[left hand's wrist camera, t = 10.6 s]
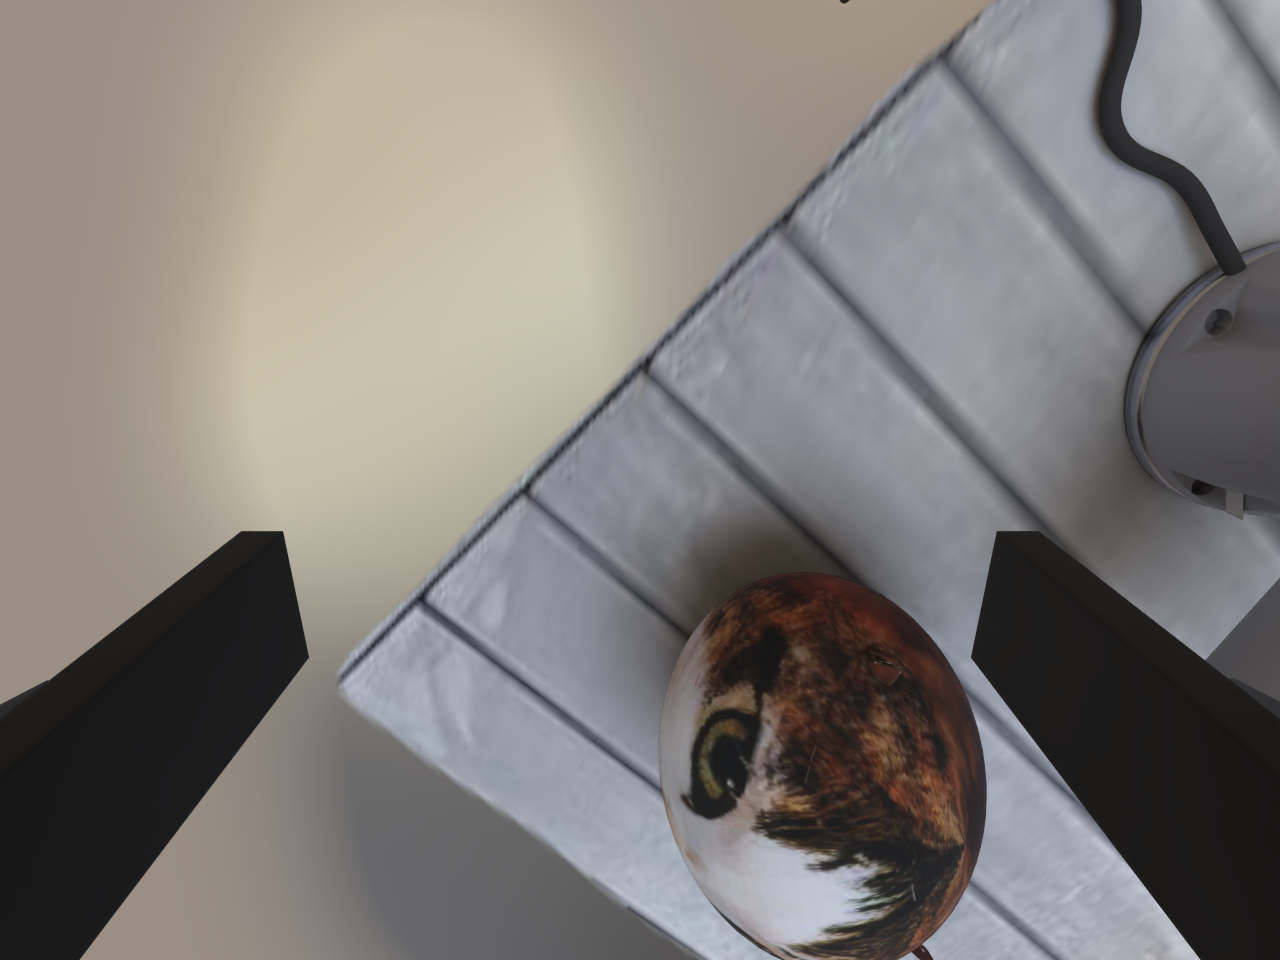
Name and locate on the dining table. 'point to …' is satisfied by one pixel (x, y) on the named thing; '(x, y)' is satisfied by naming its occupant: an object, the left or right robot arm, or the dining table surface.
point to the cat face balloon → (822, 771)
